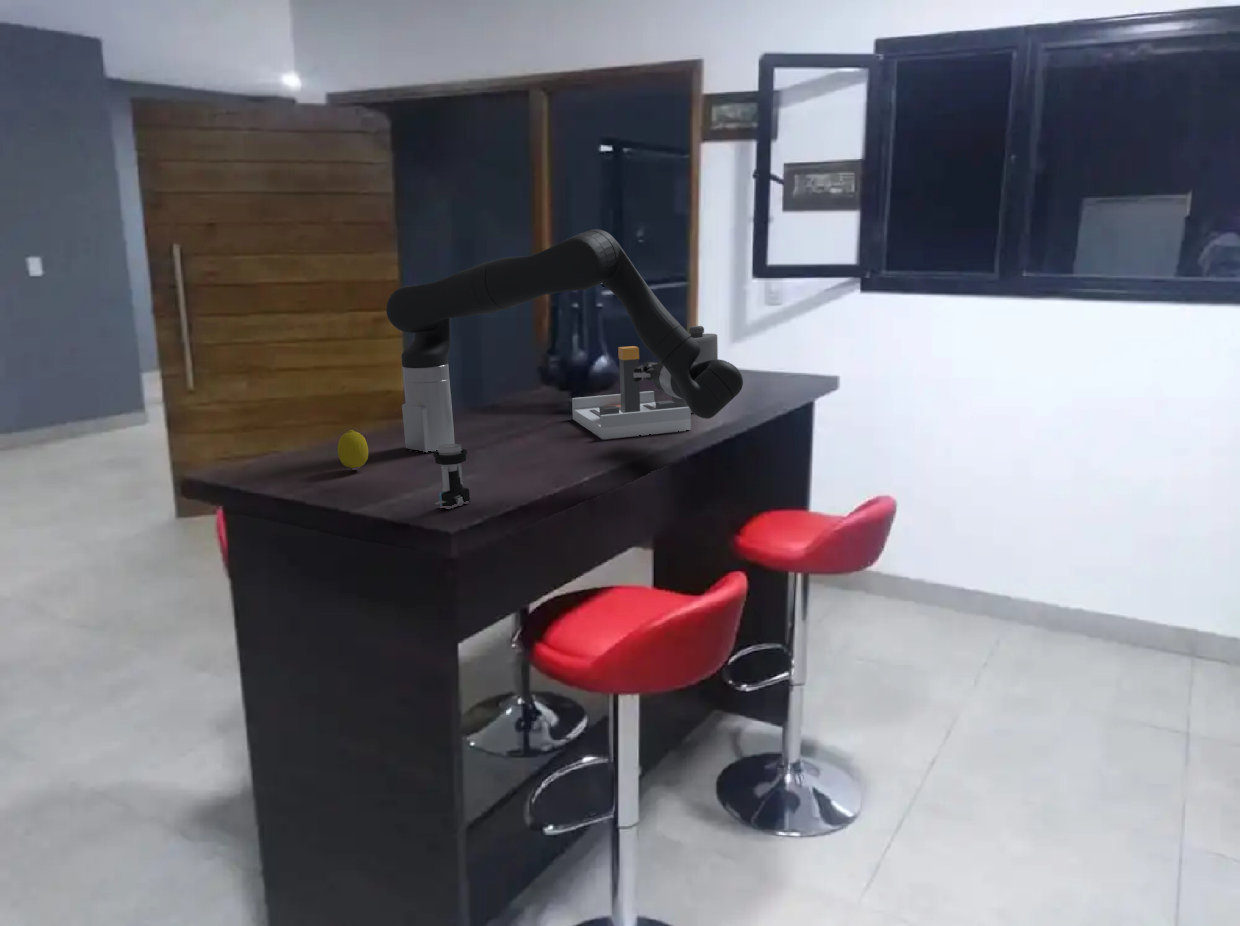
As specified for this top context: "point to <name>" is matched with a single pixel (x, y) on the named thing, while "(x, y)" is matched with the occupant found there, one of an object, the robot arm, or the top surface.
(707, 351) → the flask
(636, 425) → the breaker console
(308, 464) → the top surface
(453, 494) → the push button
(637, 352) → the handle
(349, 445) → the lemon
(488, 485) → the top surface
